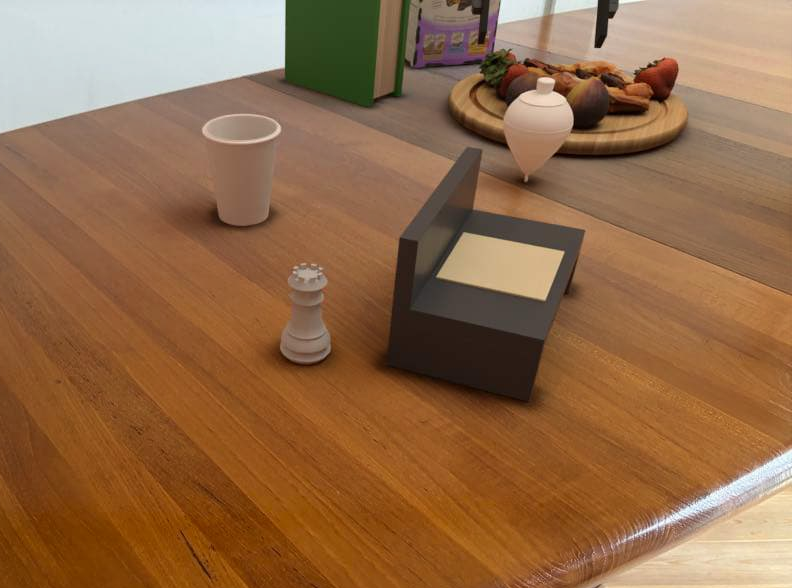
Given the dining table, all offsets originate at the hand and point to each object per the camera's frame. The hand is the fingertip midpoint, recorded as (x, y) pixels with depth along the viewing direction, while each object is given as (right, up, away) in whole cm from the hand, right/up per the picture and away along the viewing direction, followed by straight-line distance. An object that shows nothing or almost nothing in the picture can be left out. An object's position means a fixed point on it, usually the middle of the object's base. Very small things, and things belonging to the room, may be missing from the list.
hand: (540, 40), depth 97 cm
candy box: (-2, +14, +40) cm, 42 cm away
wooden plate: (+10, -3, +19) cm, 21 cm away
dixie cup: (-35, -22, -5) cm, 42 cm away
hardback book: (-20, +6, +30) cm, 37 cm away
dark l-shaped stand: (-13, -36, -23) cm, 45 cm away
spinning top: (-1, -17, +1) cm, 17 cm away
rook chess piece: (-30, -39, -26) cm, 55 cm away
